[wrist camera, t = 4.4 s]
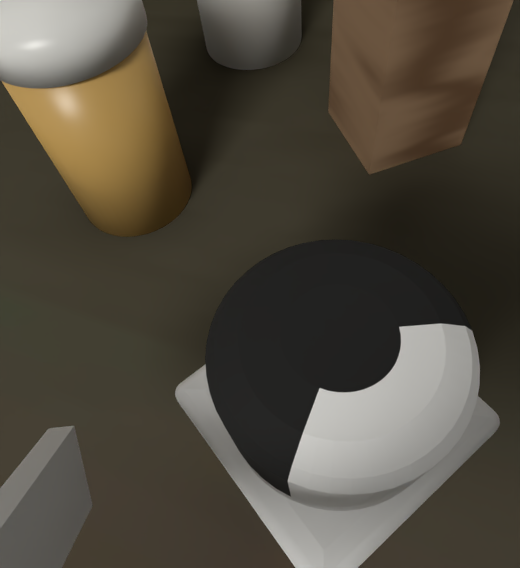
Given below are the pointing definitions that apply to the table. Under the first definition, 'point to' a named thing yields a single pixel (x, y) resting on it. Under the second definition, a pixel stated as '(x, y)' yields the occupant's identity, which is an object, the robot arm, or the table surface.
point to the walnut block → (409, 73)
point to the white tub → (251, 31)
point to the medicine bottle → (338, 395)
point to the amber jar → (97, 107)
